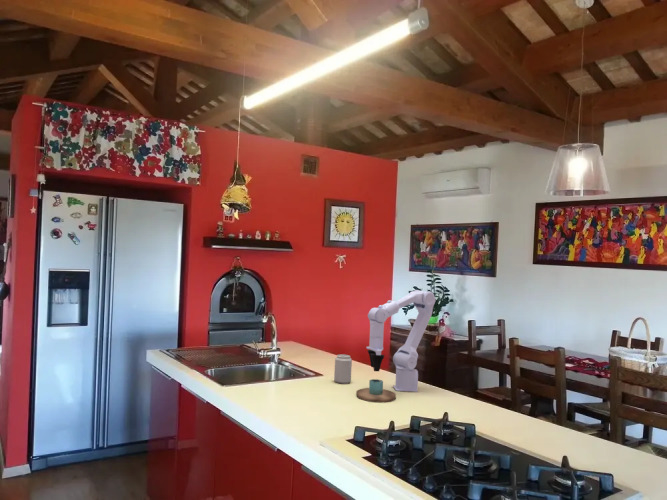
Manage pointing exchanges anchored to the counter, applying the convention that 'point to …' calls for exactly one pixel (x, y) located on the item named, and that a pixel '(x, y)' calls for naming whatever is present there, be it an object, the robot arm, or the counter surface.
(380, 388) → the collar
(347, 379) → the can
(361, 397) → the stand
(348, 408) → the counter surface
